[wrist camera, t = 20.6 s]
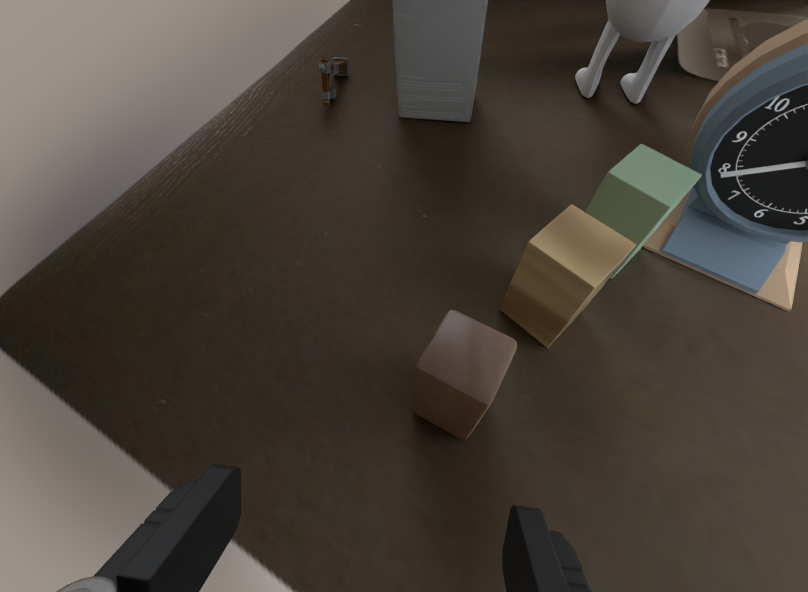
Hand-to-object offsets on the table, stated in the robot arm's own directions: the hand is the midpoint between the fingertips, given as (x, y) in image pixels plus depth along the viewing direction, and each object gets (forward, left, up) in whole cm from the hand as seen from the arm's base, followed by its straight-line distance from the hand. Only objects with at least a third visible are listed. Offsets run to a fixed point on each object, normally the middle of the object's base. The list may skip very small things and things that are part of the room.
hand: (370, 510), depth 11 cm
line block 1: (+18, +2, -13) cm, 22 cm away
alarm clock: (+35, -4, -13) cm, 38 cm away
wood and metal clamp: (+25, +36, -13) cm, 46 cm away
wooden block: (+8, +2, -13) cm, 15 cm away
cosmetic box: (+31, +26, -13) cm, 43 cm away
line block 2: (+27, +2, -13) cm, 30 cm away
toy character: (+48, +14, -13) cm, 52 cm away
